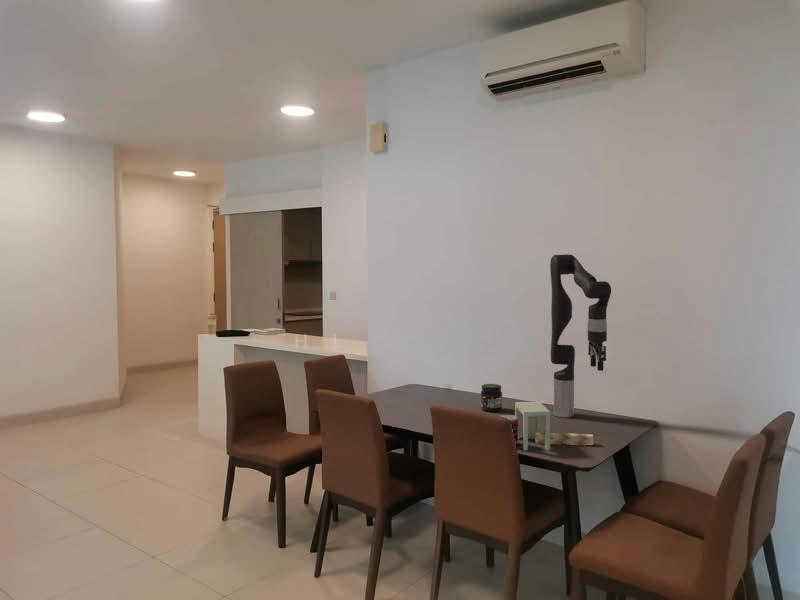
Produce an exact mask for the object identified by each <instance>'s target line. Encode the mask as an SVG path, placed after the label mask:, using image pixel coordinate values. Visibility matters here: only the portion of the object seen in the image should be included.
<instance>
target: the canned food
mask: <svg viewBox="0 0 800 600" xmlns="http://www.w3.org/2000/svg"><path fill="white" fill-rule="evenodd" d="M499 416H501V417H504V418H507V419H509V420H510V421H511V424H512V429H513V434H514V438H515V441H516V444H517V445H518V443H519V439H518V417H516V416H515V414H514V415H513V414H500V415H499Z"/></svg>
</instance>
